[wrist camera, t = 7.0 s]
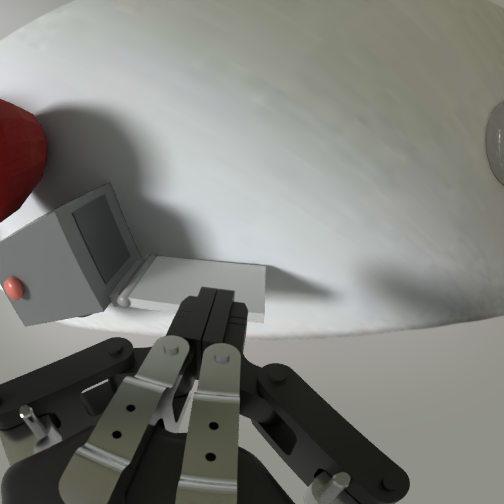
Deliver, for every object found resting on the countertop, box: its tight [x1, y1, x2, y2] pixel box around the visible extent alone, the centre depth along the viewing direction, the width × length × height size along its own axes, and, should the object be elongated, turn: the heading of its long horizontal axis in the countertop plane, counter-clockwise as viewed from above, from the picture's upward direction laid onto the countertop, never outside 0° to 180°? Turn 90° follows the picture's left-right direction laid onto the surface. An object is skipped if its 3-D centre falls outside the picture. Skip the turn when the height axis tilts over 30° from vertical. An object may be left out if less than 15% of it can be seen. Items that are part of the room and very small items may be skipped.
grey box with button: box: [0, 183, 145, 326], centre depth 23 cm, size 12×9×9 cm
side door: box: [117, 254, 266, 323], centre depth 24 cm, size 1×11×7 cm, turn 86°
